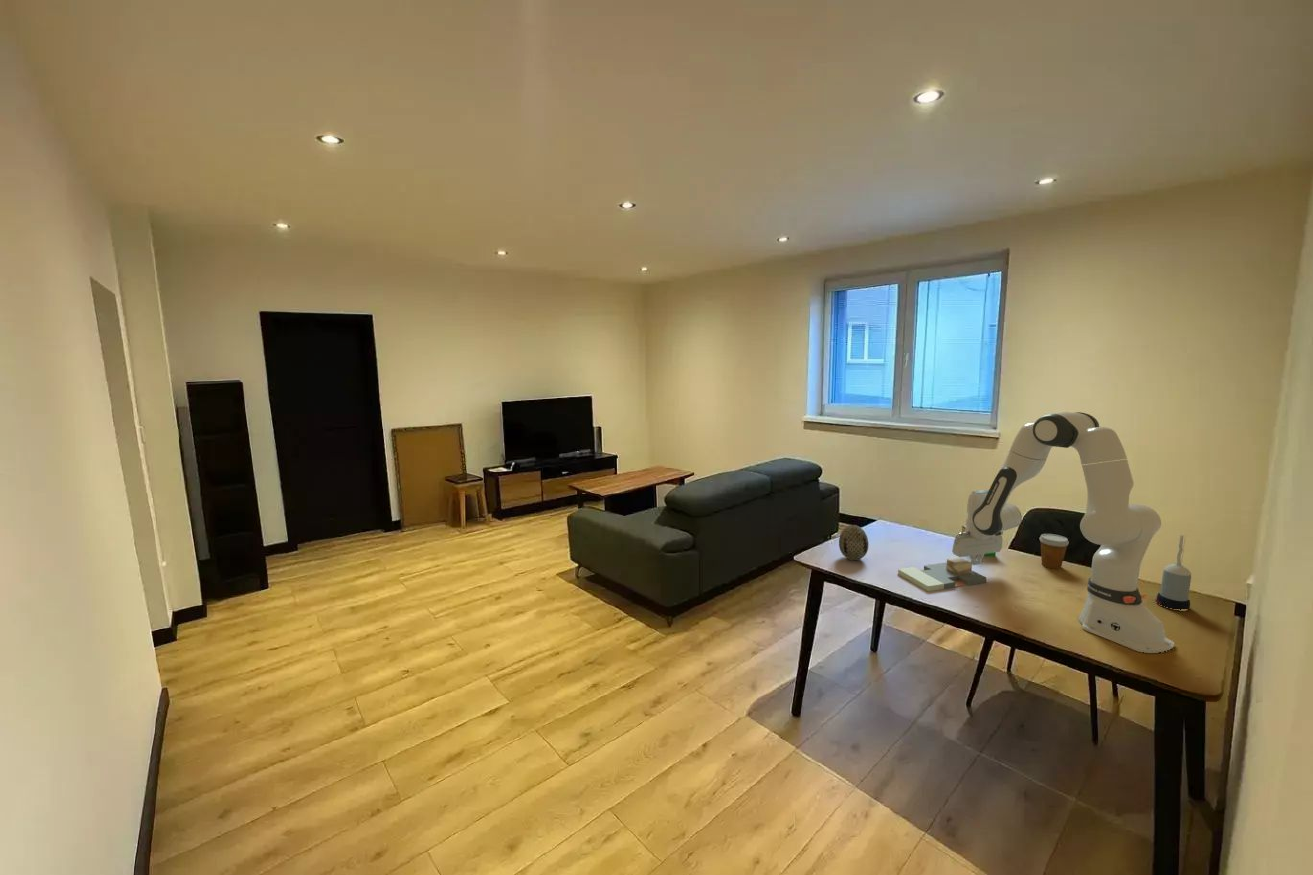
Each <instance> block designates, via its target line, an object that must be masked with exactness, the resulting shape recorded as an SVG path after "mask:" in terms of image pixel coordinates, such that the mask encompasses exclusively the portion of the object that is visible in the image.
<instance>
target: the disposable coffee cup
mask: <svg viewBox="0 0 1313 875" xmlns="http://www.w3.org/2000/svg"><path fill="white" fill-rule="evenodd" d="M1039 541H1040V555H1041V565H1042V566H1043V567H1045V568H1047V569H1052V570H1058V569H1062V565H1063V562H1064V558H1065V555H1066V551H1067V548H1068V545H1069V543H1070V542H1069V540H1068V538H1067V537H1065V536H1062V535H1059V534H1053V533H1043V534H1040V537H1039Z"/></svg>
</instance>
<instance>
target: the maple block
mask: <svg viewBox="0 0 1313 875" xmlns="http://www.w3.org/2000/svg"><path fill="white" fill-rule="evenodd" d="M946 562H947V566H946V569H948V570H950V571H952V572H954V573H956V574H958V575H960V574H967V573H971V571H973V568H972V567H973V565H972V563H971V561H969V560H967V559H965V558H963V557H959V556H957V557H952V558H947V559H946Z"/></svg>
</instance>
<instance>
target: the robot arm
mask: <svg viewBox="0 0 1313 875" xmlns="http://www.w3.org/2000/svg"><path fill="white" fill-rule="evenodd" d="M1053 447H1056V448H1064V449H1067V448H1070V447H1072V448H1073V449H1074V450H1076V452H1077V453H1078V455H1079V459H1080V464H1081V468H1082V472H1083V476H1084V481H1085V485H1086V488H1087V492H1086V493H1087V496H1086V497H1087V498H1086V499H1087V501H1086V509H1085V512H1084V513H1085V514H1084V515H1083V517H1082V518H1081V520H1080V523H1079V528H1080V532H1081V533H1082V535H1083V537H1084V538H1085V539H1086V540H1088V541H1089V542H1091V543H1092V544H1094V545H1100V547H1099V548H1098V549H1097V550H1096V552H1095V553H1094V554H1093V556H1092V562H1091V570H1090V577H1089V578H1088V581H1087V588H1086V590H1087V596H1086V599H1085V600H1086V601H1085V603H1084V606H1083V610H1082V612H1081V613H1080V615H1079V617H1078V620H1079V622H1080V623H1081V627H1082V629H1083V630H1084V631H1086V632H1089V633H1091V634H1094V635H1096V636H1099V637H1101V638H1103V639H1107V640H1109V641H1111V642H1113V643H1116V644H1119V645H1121V646H1123V647H1126V648H1129V649H1131V650H1133V651H1136V652H1139V653H1143V652H1144V653H1145V654H1146V653H1147V654H1158V653H1159V652H1161V653H1165V652H1164V651H1166V652H1168V651H1167V650H1169V651H1171V650H1170V649H1171V648H1173V647H1174V648H1175V642H1174V641H1173V640H1171V639H1169V638H1167V637H1166V634H1165V626H1164V624H1163V622H1162V621H1161V619H1159V618H1158V616H1156V615H1154V613H1153V612H1152V611H1151V610H1150V609H1149V608H1148V607H1147V606H1146V605H1145V604H1144V603H1143V600H1144V599H1147V594H1141V593H1140V590H1139V587H1138V581H1139V577H1140V569H1141V565H1142V562H1143V559H1144V556H1145V554H1146V553H1147V551H1148V547H1149V546H1150V543H1151V541H1152V540H1153V538H1154V536H1155V535H1156V534H1157V533H1158V531H1159V530H1160V529H1161V526H1162V519H1161V517H1160V515H1159V514H1158V512H1157V511H1156V510H1155V509H1153V508H1151V507H1149V506H1147V505H1141V504H1133V503H1129V502H1130V494H1131V491H1132V489H1133V487H1134V480H1133V476H1132V473H1131V469H1130V465H1129V461H1128V459H1127V454H1126V452H1125V448H1124V446H1123V444H1122V442H1121V440H1120V437H1119V436H1118V434H1117V432H1116V431H1115V430H1114V429H1112V428H1110V427H1105V426H1100V423H1099V422H1098V420H1097V419H1096V418H1095V417H1094V416H1093V415H1091V414H1089V413H1086V412H1081V411H1079V412H1078V411H1076V412H1071V411H1069V412H1068V411H1062V412H1055V413H1048V414H1045V415H1043V416H1040V417H1039V418H1038V419H1036V421H1035V422H1028V423H1025V424H1024V425H1023V426H1022V427H1021V428H1020V429H1019V431H1018V433H1017V434H1016V436H1015V437H1014V439H1013V442H1012V444H1011V446H1010V448H1009V451H1008V453H1007V456H1006V458H1005V460H1004V463H1003V464H1002V466H1001V467H1000V469H999V471H998V473H997V474H996V476H995V478H994V479H993V482H992V483H991V485H990V488H989V489H988V490H987V489H984V490H983V489H981V490H974V491H972V492H970V494H969V496H968V500H967V503H966V504H967V506H966V514H967V518H966V520H965V526H966V528H965V532H964V533H962V532H958V534H956V536H955V537H954V541H953V546H952V549H951V550H952V553H953V555H955V557H960V558H963V557H969V559H970V562H971V563H972V566H978V565H981V563H982V561H983V558H984V557H985V556H984V554H986V553H994V552H996V553H999V552H1001V551H1002V548H1003V535H1004V532H1005V531H1008V530H1012V529H1014V528H1017V527H1018V526H1020V524H1021V523H1022V521H1023V520H1022V518H1023V517H1022V513H1021V510H1020V509H1019V508H1018V507H1017V506H1016V505H1014V504H1012V503H1009V502H1008V499H1009V498H1010V496H1011V494H1012V492H1014V490H1015V489H1016V488H1017V487H1019V486H1020V485H1021V484H1023V483H1025V482H1027V481H1029V480H1031V479H1032V478H1035V477H1036V476H1038V475H1039V473H1040V472H1041V471H1042V469H1043V468H1044V466H1045V464H1046V462H1047V460H1048V459H1047V458H1048V457H1049V454H1050V451H1051V449H1052V448H1053ZM1174 648H1173V649H1174ZM1159 654H1160V653H1159Z"/></svg>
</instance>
